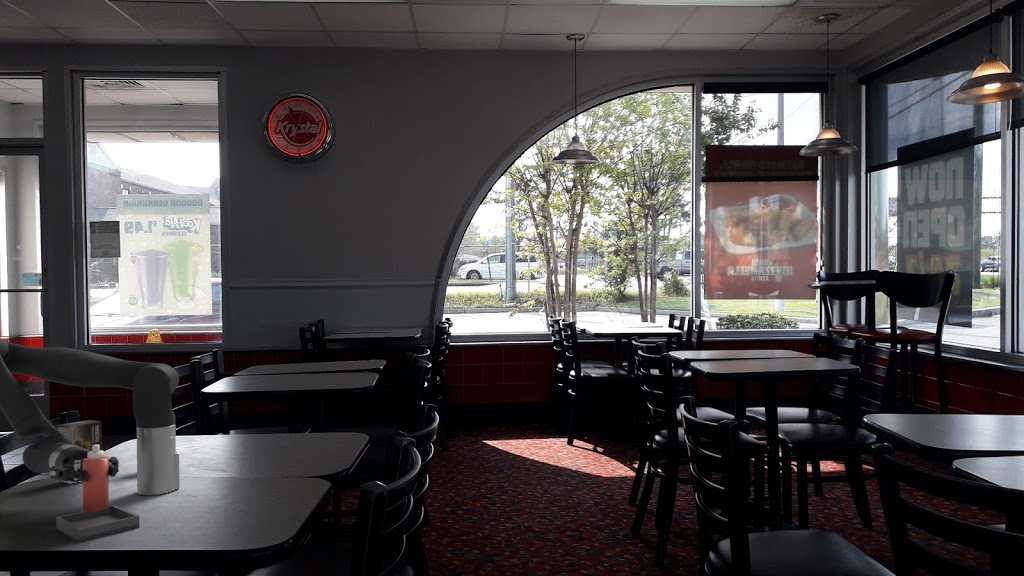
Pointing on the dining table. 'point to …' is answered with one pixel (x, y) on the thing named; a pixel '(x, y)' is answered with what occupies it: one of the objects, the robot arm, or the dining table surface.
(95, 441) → the coffee box
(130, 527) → the tray
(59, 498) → the dining table surface
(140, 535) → the dining table surface
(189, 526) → the dining table surface
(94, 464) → the bottle
